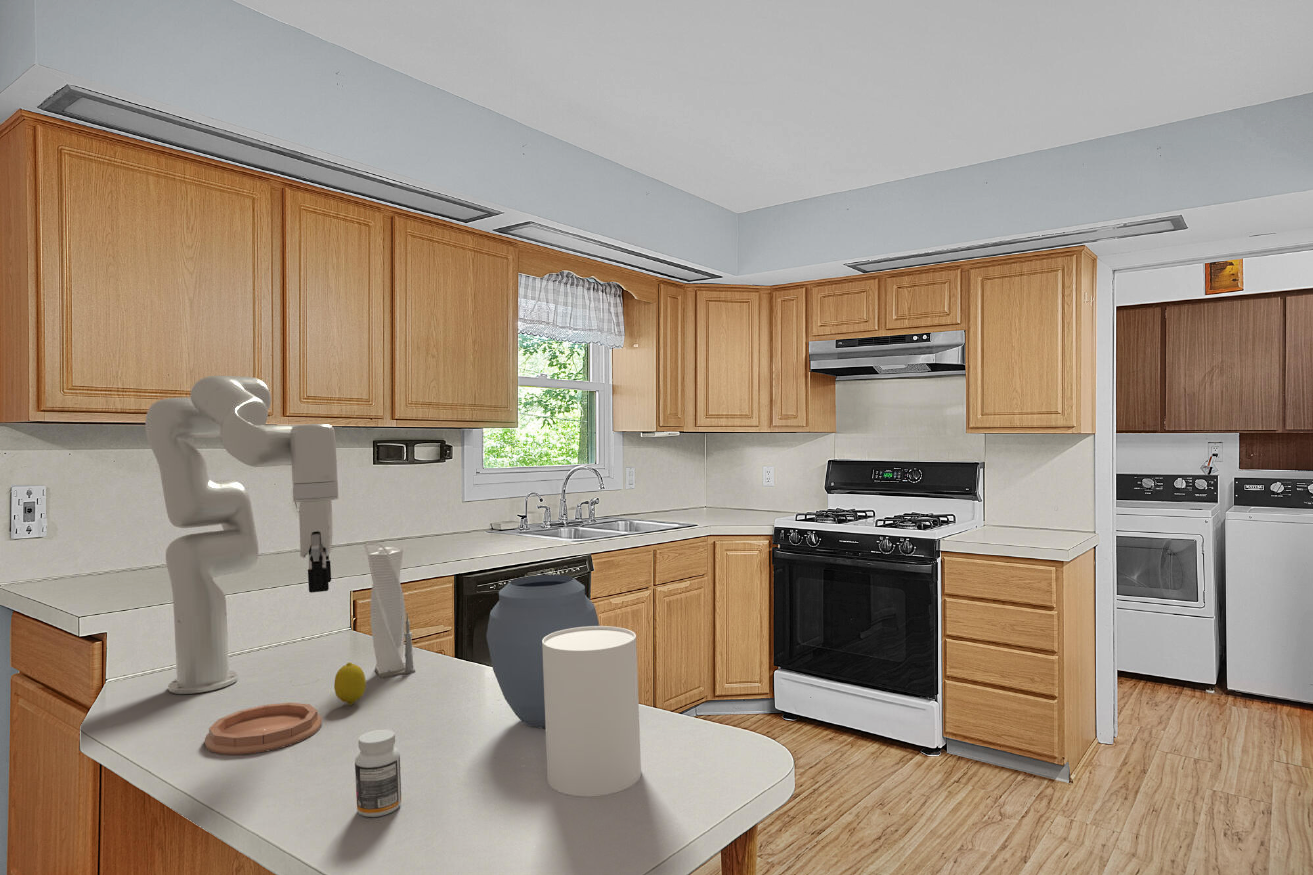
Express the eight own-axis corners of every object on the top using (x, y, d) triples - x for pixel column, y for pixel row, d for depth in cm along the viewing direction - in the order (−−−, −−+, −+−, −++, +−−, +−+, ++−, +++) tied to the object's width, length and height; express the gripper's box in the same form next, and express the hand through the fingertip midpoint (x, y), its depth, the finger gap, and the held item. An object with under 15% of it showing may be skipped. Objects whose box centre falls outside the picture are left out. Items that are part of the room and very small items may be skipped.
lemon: (356, 710, 148) (354, 667, 148) (329, 709, 149) (327, 666, 149) (372, 700, 154) (370, 658, 154) (346, 699, 155) (344, 658, 155)
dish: (195, 733, 139) (194, 719, 139) (304, 707, 151) (303, 694, 151) (218, 764, 126) (217, 748, 126) (336, 733, 137) (335, 718, 137)
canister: (555, 757, 124) (550, 627, 123) (643, 754, 123) (638, 624, 123) (540, 797, 110) (534, 651, 110) (638, 795, 110) (633, 649, 109)
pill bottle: (363, 800, 111) (360, 729, 111) (406, 797, 112) (403, 726, 112) (351, 820, 105) (348, 745, 105) (396, 817, 106) (393, 742, 106)
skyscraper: (373, 679, 167) (368, 545, 167) (367, 669, 174) (361, 541, 174) (415, 671, 171) (409, 540, 171) (406, 662, 178) (401, 537, 178)
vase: (621, 726, 135) (615, 582, 135) (507, 751, 126) (501, 597, 126) (580, 694, 153) (575, 566, 152) (477, 713, 144) (472, 578, 144)
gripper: (297, 491, 152) (301, 581, 152) (288, 496, 136) (293, 597, 136) (339, 488, 155) (344, 577, 155) (336, 493, 138) (341, 592, 138)
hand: (320, 586), depth 145 cm, fingers open, 9 cm apart
